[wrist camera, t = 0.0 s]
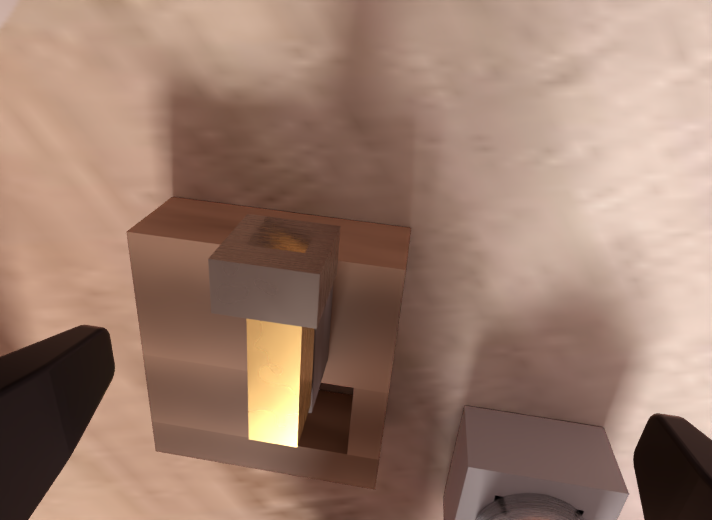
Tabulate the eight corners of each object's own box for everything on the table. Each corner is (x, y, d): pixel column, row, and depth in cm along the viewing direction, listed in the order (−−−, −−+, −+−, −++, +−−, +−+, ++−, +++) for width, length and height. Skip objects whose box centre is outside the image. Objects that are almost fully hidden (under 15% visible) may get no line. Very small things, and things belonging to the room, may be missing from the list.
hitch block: (382, 428, 29) (367, 552, 22) (189, 396, 30) (121, 506, 23) (411, 227, 23) (400, 316, 17) (172, 197, 24) (76, 269, 18)
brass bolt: (327, 407, 19) (308, 475, 16) (250, 394, 19) (219, 460, 16) (340, 225, 15) (319, 274, 13) (247, 213, 16) (207, 258, 13)
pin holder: (567, 518, 30) (584, 589, 26) (443, 496, 30) (443, 563, 27) (603, 427, 27) (628, 494, 23) (464, 405, 27) (468, 466, 24)
